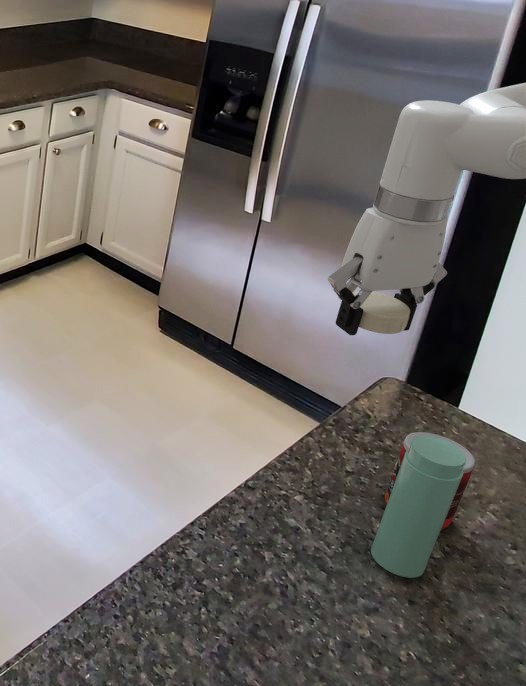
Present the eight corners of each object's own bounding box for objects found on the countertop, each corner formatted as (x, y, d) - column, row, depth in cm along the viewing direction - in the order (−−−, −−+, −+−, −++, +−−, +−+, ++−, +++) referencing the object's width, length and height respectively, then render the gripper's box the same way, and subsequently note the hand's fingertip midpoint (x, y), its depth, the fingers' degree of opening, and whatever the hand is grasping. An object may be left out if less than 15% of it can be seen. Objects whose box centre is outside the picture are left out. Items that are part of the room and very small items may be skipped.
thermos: (409, 543, 106) (451, 436, 99) (433, 580, 101) (479, 469, 93) (362, 540, 107) (400, 432, 99) (383, 576, 101) (425, 465, 94)
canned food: (382, 485, 116) (404, 424, 112) (448, 505, 112) (473, 443, 108) (382, 518, 110) (404, 456, 106) (451, 541, 107) (478, 477, 102)
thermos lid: (369, 336, 101) (374, 320, 100) (332, 308, 107) (336, 293, 106) (418, 331, 102) (423, 315, 101) (378, 304, 108) (383, 289, 107)
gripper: (448, 188, 102) (408, 308, 110) (326, 196, 100) (293, 318, 107) (499, 210, 95) (452, 337, 103) (369, 219, 93) (331, 348, 100)
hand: (371, 326), depth 105 cm, fingers closed on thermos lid, 7 cm apart
